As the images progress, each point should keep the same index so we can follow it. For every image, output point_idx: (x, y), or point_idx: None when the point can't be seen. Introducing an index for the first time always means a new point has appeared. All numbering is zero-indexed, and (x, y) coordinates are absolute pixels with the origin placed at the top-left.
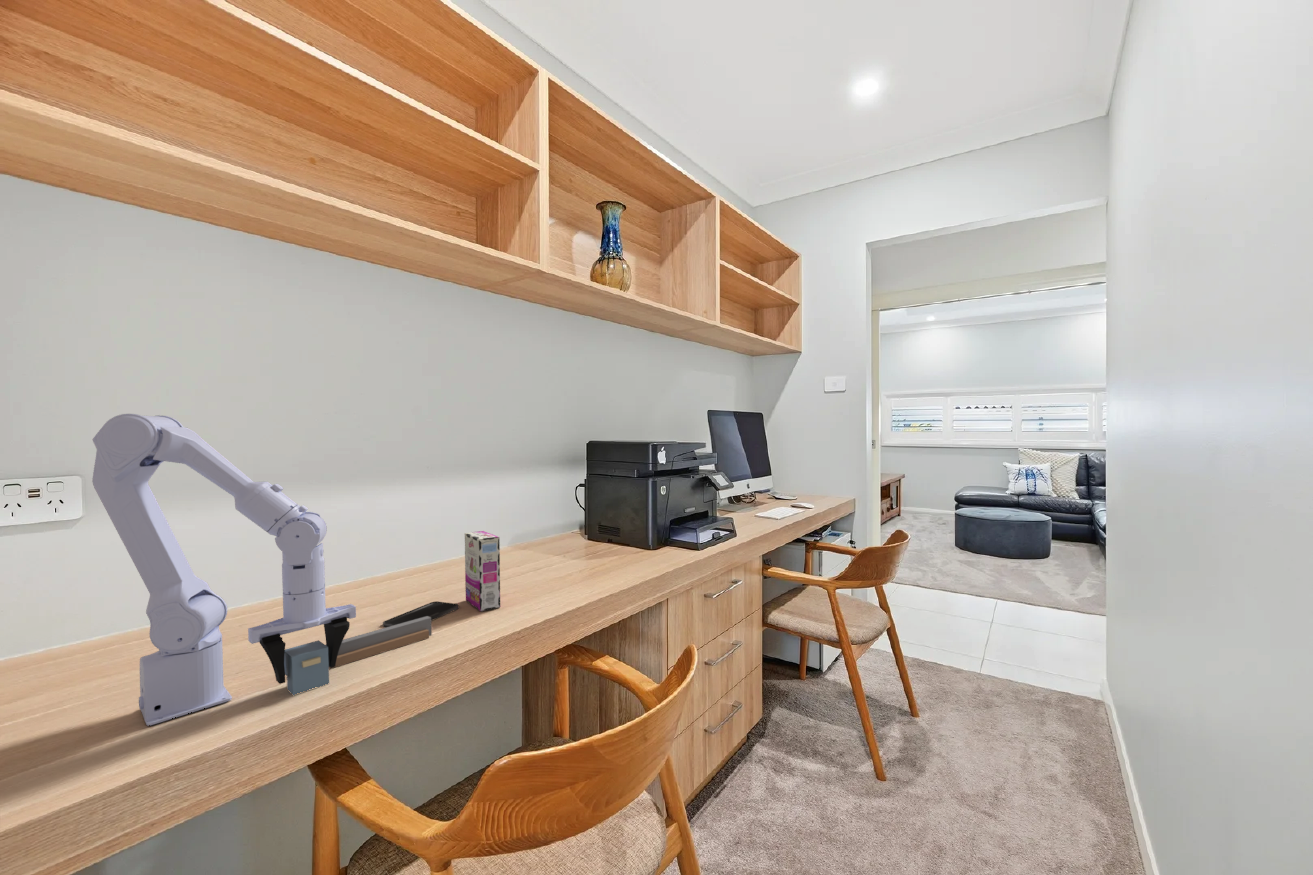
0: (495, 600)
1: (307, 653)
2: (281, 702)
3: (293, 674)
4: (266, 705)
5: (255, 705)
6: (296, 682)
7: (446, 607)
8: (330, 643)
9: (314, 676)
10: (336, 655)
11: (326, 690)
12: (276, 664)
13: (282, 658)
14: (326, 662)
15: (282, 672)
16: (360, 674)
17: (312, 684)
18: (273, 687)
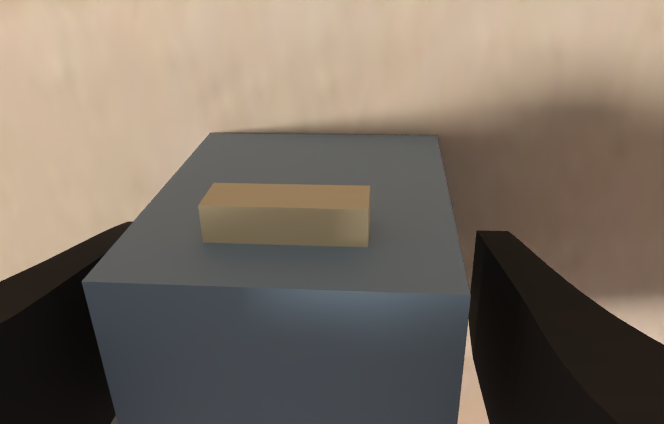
0: None
1: (302, 286)
2: (528, 87)
3: (443, 197)
4: (608, 122)
5: (647, 181)
6: (417, 166)
7: None
8: (53, 373)
9: (286, 167)
10: (69, 250)
11: (248, 30)
12: (603, 311)
13: (559, 336)
14: (167, 202)
15: (517, 263)
16: (11, 113)
17: (309, 146)
18: (469, 347)
